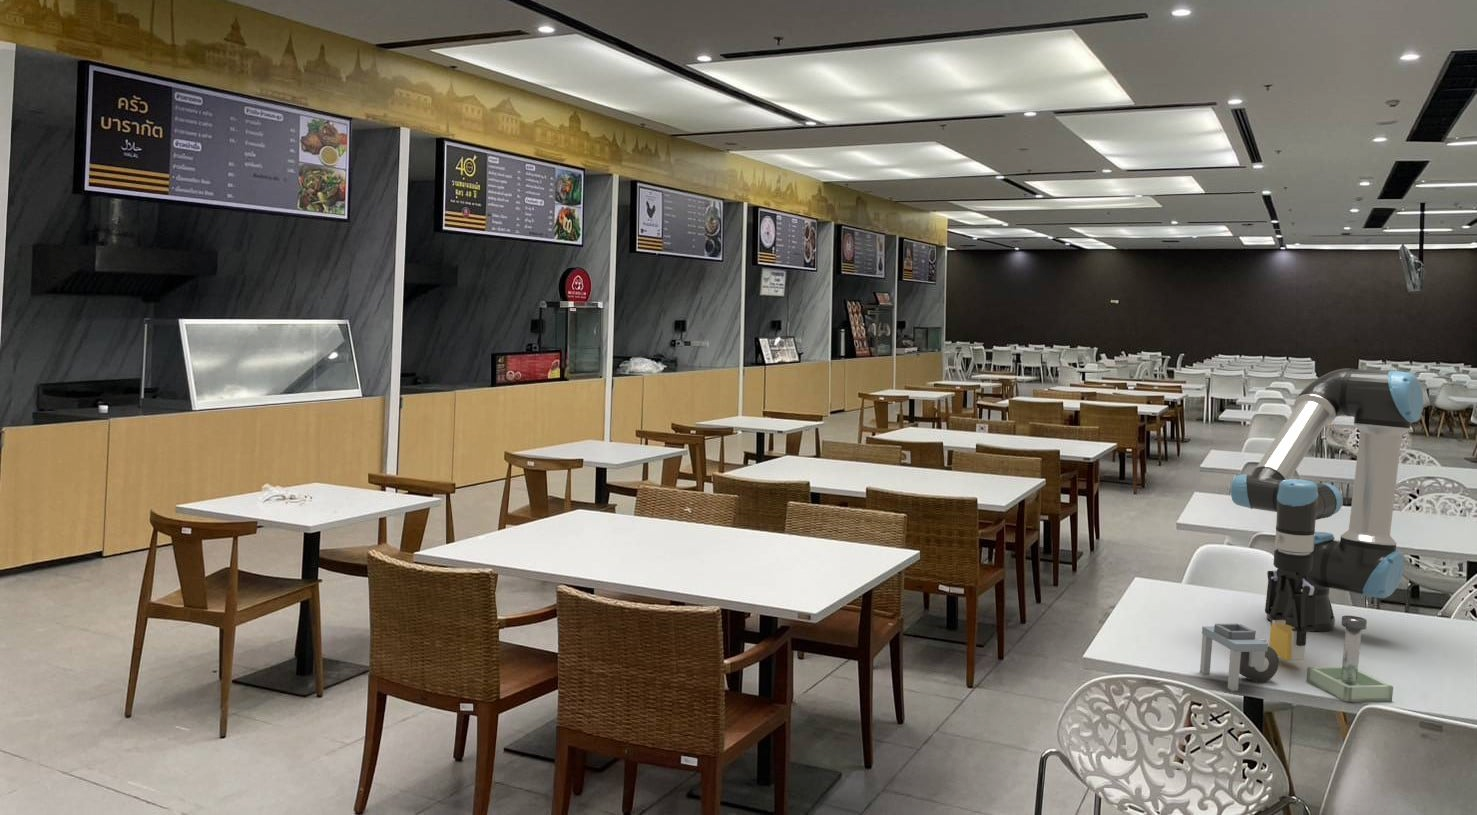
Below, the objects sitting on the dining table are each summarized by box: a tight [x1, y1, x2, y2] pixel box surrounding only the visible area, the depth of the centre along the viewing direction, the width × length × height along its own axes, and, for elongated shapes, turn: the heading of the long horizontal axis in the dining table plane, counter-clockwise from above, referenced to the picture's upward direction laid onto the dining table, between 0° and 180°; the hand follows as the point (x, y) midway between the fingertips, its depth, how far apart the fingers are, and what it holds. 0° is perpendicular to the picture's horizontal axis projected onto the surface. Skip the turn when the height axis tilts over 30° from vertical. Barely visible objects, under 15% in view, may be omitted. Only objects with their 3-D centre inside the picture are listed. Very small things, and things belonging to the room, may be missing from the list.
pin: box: [1340, 615, 1368, 686], centre depth 215 cm, size 4×4×15 cm
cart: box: [1199, 623, 1280, 692], centre depth 220 cm, size 12×13×11 cm
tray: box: [1306, 666, 1394, 703], centre depth 216 cm, size 10×12×3 cm
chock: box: [1268, 624, 1304, 661], centre depth 231 cm, size 4×6×6 cm, turn 7°
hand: (1286, 653), depth 232 cm, fingers closed on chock, 6 cm apart
